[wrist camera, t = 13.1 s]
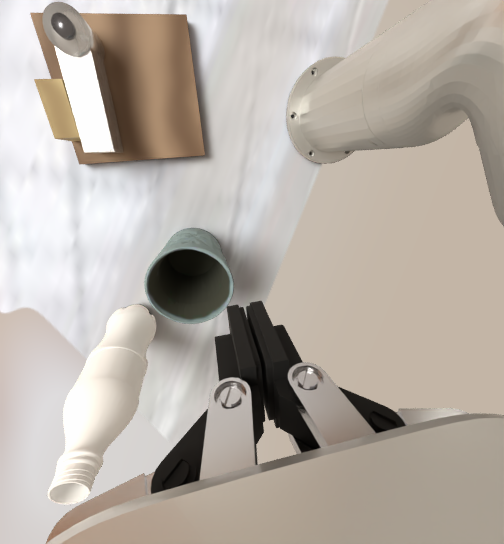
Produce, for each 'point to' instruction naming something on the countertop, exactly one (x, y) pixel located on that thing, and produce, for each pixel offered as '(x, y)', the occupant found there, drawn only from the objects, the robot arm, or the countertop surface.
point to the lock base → (134, 87)
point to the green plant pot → (189, 278)
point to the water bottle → (102, 401)
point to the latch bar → (84, 77)
